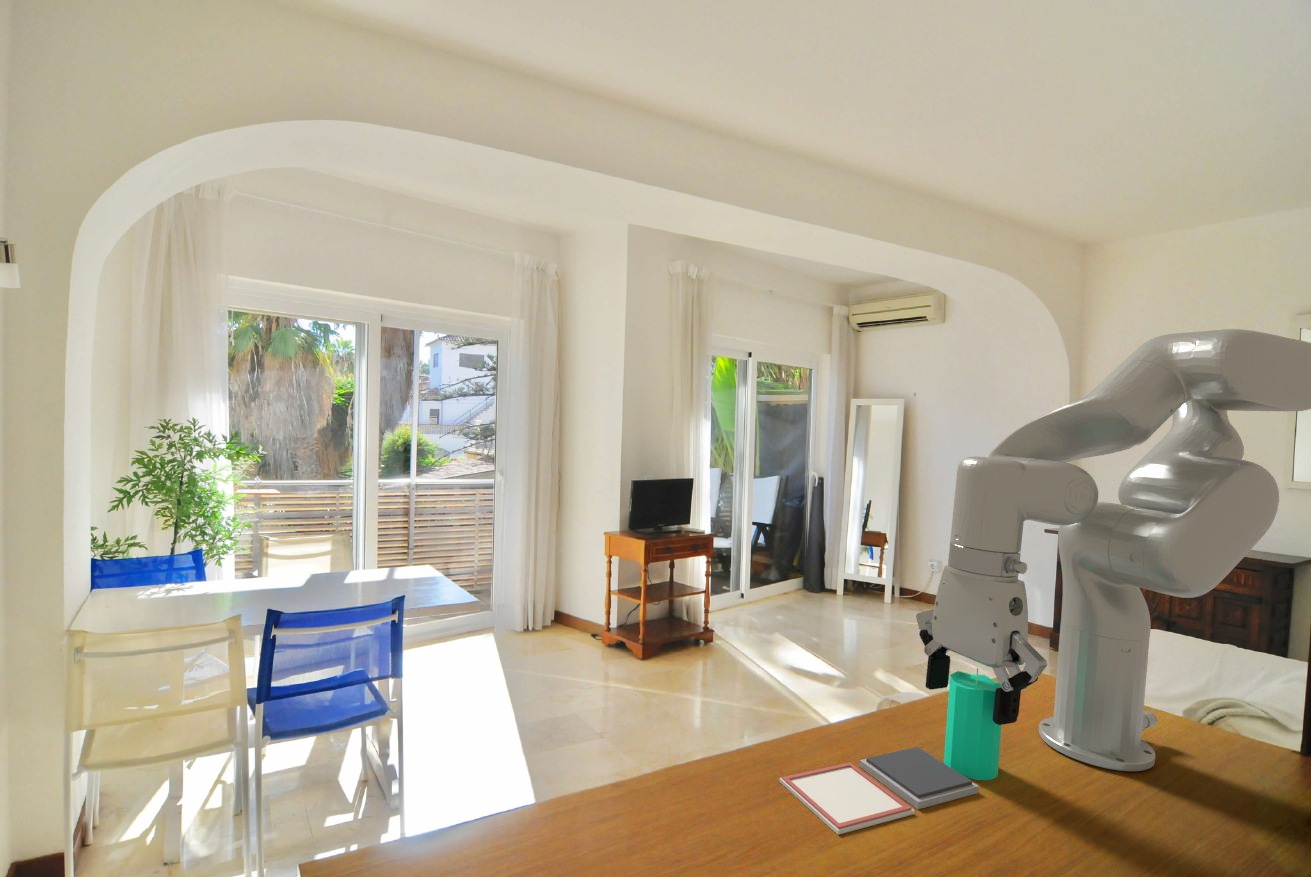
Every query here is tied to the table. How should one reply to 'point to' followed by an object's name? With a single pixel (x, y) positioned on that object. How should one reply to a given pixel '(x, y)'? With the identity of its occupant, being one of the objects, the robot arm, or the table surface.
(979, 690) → the candle
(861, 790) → the marked card
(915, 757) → the ink pad
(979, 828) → the table surface
